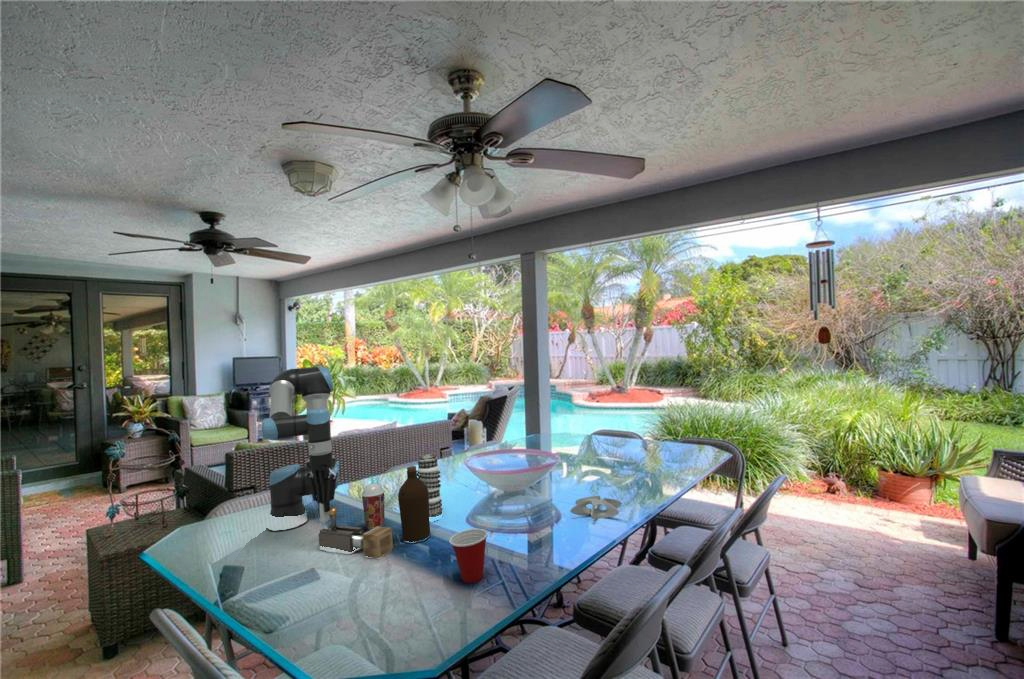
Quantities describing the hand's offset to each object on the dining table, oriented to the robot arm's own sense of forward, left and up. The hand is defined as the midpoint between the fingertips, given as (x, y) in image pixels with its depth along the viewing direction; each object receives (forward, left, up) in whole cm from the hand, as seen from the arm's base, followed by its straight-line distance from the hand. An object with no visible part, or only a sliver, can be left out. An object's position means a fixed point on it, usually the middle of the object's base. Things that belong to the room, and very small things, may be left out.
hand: (325, 521), depth 161 cm
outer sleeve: (+7, 0, -9) cm, 11 cm away
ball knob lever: (+9, 0, -8) cm, 12 cm away
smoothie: (+6, +18, -9) cm, 21 cm away
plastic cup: (+62, -7, -9) cm, 63 cm away
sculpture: (+84, +48, -9) cm, 97 cm away
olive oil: (+28, +14, -9) cm, 33 cm away
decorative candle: (+22, +32, -9) cm, 40 cm away
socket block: (+23, 0, -9) cm, 25 cm away
